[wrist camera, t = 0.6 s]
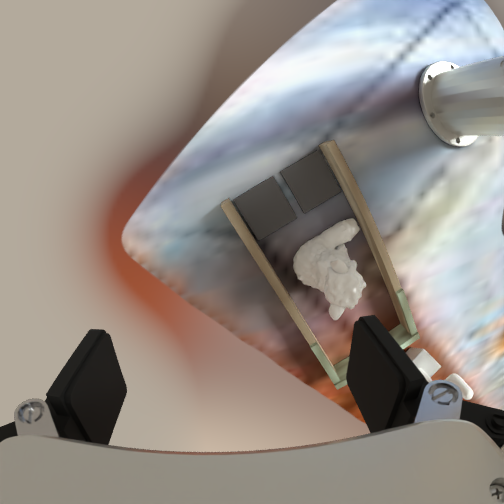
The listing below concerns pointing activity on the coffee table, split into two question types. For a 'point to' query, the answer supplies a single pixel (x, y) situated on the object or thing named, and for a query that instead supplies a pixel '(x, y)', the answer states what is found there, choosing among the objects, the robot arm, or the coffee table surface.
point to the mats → (275, 203)
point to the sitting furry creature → (331, 267)
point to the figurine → (430, 366)
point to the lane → (406, 328)
